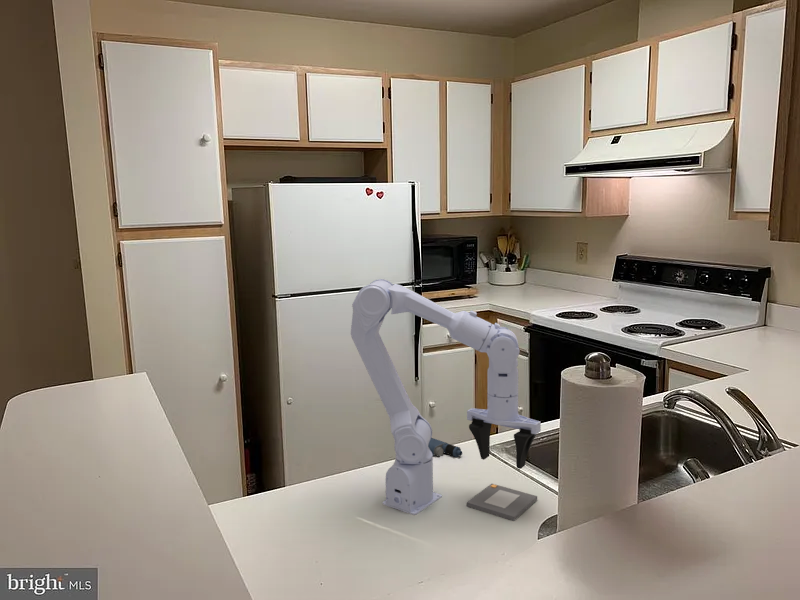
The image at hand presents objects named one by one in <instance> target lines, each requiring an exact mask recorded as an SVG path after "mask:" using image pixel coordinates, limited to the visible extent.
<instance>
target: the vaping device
mask: <svg viewBox="0 0 800 600" xmlns="http://www.w3.org/2000/svg"><path fill="white" fill-rule="evenodd" d="M428 447H429V449H430V451H431V452H432V454H433V457H437V456H438V457H442V456H443V455H444V454H445V455H448V456H452V457H454V458H458V457H460V456H462V455H463V451H462V448H461V447H460V446H456V445H455V444H454V445H453V444H450V443H448V442H445V441H442V440H440V439H436V438H433V437H431V439H430V441H429V445H428Z"/></svg>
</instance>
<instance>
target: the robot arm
mask: <svg viewBox="0 0 800 600" xmlns="http://www.w3.org/2000/svg"><path fill="white" fill-rule="evenodd" d="M351 307H352V316H351V325H350V336H351V339H352V341H353V343H354V346H355V348H356V350H357V352H358V354H359V356H360V358H361V361H362V362H363V364H364V367H365V369H366V370H367V373H368V375H369V377H370V380H371V381H372V384H373V385H374V388H375V390H376V392H377V394H378V396H379V398H380V401H381V403H382V405H383V408H384V409H385V412H386V414H387V415H388V417H389V424H390V432H391V434H392V437H393V440H394V451H395V459H394V462H393V464H392V465H391V466H390V467H389V468H388V469H387V470H386V473H385V500H383V501H382V505H383V506H387V507H389V508H392V509H395V510H398V511H401V512H404V513H407V514H410V515H413V516H415V515H418V514H419V513H421V512H422V511H424V510H425V509H426V508H429V507H430V506H431V505H433V504H434V503H436V502H437V501H439V500H440V499H441V498H443V495H442V494H441V493H437V492H434V463H433V460H434V459H433V457H434V455H433V454H432V452H431V451H430V449H429V447H428V445H429V441H430V439H431V438H433V428H432V426H431V423H429V421H428V420H427V419H426V418H425V417H423V415H421V413H420V411H419V409H418V408H417V407H416V406H415V405H414V404H413V403H412V400H411V399H410V397H409V395H408V393H407V391H406V388H405V386H404V383H403V382H402V379H401V377H400V375H399V373H398V372H397V369H396V366H395V365H394V363H393V360H392V358H391V356H390V353H389V352H388V350H387V348H386V346H385V343H384V342H383V339H382V337H381V335H380V329H381V327H382V325H383V323H384V320H385V317H386V316H387V314H388V313H389V312H390V311H391V313H390V314H391V315H398V314H404V313H410V314H412V315H415V316H417V317H420V318H421V319H424V320H427V321H429V322H431V323H434V324H436V325H438V326H441V327H443V328H445V329H447V331H448V333H449V334H448V335H449V337H450V338H451V339H453V340H455V341H457V342H459V343H461V344H463V345H464V346H467V347H469V348H471V349H473V350H475V351H477V352H479V353H485V354H487V358H488V368H487V377H486V378H487V383H486V384H487V393H486V394H487V408H486V409H483V408H474V407H471V408H469V409H468V410H466V420H467V421H471V423H470V424H469V425H468V428H469V430H470V433H471V434H472V436H473V437H474V440H475V442H476V446H477V448H478V451H479V455H480V460H483V461H484V460H486V459H487V458H489V457H490V453H491V452H490V450H491V449H490V448H491V447H490V446H491V445H490V444H491V443H490V441H491V440H490V438H491V430H492V426H493V425H496V426H500V427H506V428H510V429H516V430H519V431H517V432H515V433H514V434H513V439H514V442H515V443H514V444H515V449H516V451H515V452H516V456H515V457H516V460H515V461H516V468H517V469H519V470H521V469H522V468H523V467H525V465H526V462H527V457H528V453H529V451H530V448H531V446H532V443H533V441H534V439H535V438H536V436H537V435H538V434H539V433H541V430H542V427H541V424H542V423H541V421H539V420H536V419H533V418H530V417H527V416H525V415H521V414H519V369H518V366H519V361H518V357H519V356H520V352H521V350H520V347H519V345H520V344H519V340H518V337H517V335H516V334H515V332H513V331H512V330H511V329H509V328H508V327H507V326H501V325H500V324H499V323H497V322H495V323H494V324H493V323H491V322H490V321H488V320H485V319H483V318H481V317H478V316H477V314H478V313H477V312H476V311H474V310H470V311H467V310H461V311H458V312H453V311H452V310H449V309H448V308H445V307H444V306H442V305H440V304H437V303H436V302H434V301H432V300H431V299H428V298H426V297H424V296H423V295H421V294H419V293H417V292H415V291H413V290H411V289H410V288H407V287H405V286H403V285H401V284H399V283H394V284H393V283H392V282H391V281H389V280H388V279H385V278H379V279H375V280H373V281H372V282H370V283H369V284H366V285H365V286H362V287H361V288H360V289H359V290H358V292H357V295H356V297H355V298H354V300H353V302H352V306H351Z"/></svg>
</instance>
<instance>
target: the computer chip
mask: <svg viewBox="0 0 800 600" xmlns="http://www.w3.org/2000/svg"><path fill="white" fill-rule="evenodd" d="M537 501H538V495H534V494H530V493H528V492H523V491H522V490H521V491H519V490H516V489H513V488H511V487H506V486H503V485H498V484H496V483H491V484H489V485H488V486H486V487H485V488H483V490H481V491H479V492H478V493H477V494H476V495H474V496H473V497H472V498H470V499H468V500H467V501H466V503H465V504H466V507H468V508H472V509H473V510H474V509H475V510H477V511H480V512H483V513H484V512H485V513H487V514H491V515H493V516H496V517H500V518H504V519H506V520H509V521H513V522H515V520H517V519H518V518H519V517H520V516H522V515H523V513H525V512H526V511H527V510H528V509H529V508H531V506H533V504H535V503H536V502H537Z"/></svg>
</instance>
